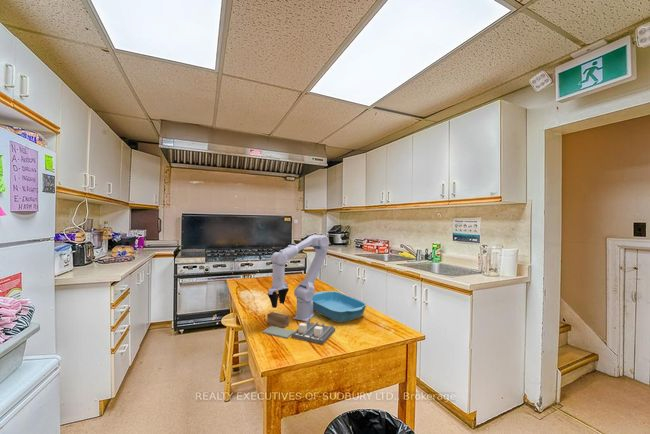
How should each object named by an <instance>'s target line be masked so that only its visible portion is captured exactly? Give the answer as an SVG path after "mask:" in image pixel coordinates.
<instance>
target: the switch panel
mask: <svg viewBox="0 0 650 434" xmlns="http://www.w3.org/2000/svg"><path fill="white" fill-rule="evenodd" d="M304 323H305V324H307V331H306V332H304V333H298V328H297V329H296V330H293V331H294V332H293V333H292V334H291V336H290V338H292V339H293V338H294V339H297V340H301V341H306V342H310V343H314V344H320V345H324V344H325V343H326V342H327V341H328V339H330V338H331V336H332V335H333V334H334V333H335V332H336V327H334V324H331V325H329V326H328V325H325V323H321V324H319V322H318V321H316V322H315V323H313V322H311V320H310V319H309V320H308V321H305V322H304ZM316 326H319V327H323V334H322V335H321V336H320V337H316V336H314V328H315V327H316Z"/></svg>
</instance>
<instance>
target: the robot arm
mask: <svg viewBox="0 0 650 434" xmlns="http://www.w3.org/2000/svg"><path fill="white" fill-rule="evenodd" d="M310 246H311V247H312V248H313V249H314V251H315V255H314V257H313V260H312V261H311V263H310V265H309V268H308V269H307V272H306V274H305V277H304V279H303V280H302V281H300V282H299V283H298V285H297V286H296V287H295V289H294V291H293V293H294V296H295V298H296V299H295V300H296V315H295V316H294V317H293V320H298V321H303V322H307V321H308V320H309V321H310V319H312V318H313V317H314V316H315V313H314V309H313V301H312V299H313V296H314V293H315V291H316V288H315V286H314V284H315V281H316V279H317V277H318V274H319V273H320V270H321V268H322V266H323V263H324V261H325V259H326V256H327V253H328V247H329V246H330V239H329V238H328V236H327V235H322V234H321V235H320V234H315V233H314V234H312V235H310V236H308V237H307V238H305V239H303V240H302V241H300V242H299V243H297V244H295V245H294V244H288V245H287V247H285V248H284V249H280V250H279V251H278V252H277V251H275V252H274V253H272V255H271V257H270V262H271V264H272V286H271V287H270V288H269V289H268V290H267V296H268V298H269V300H270V303H271V307H272V308H274V309H277V307H278V301H279V304H283V305H284V304H285V301H286V296H287V294H288V292H289V289H290V288H288V287H289V283H288V282H285V281H286V280H285V277H286V275H285V272H286V270H285V269H286V267H285V266H286V263H287V262H288V261H289V260H291V259H292V258H294V257H296V256H298V255H299V252H300V251H303V250H305V249H307V248H309V247H310Z"/></svg>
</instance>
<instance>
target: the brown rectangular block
mask: <svg viewBox="0 0 650 434" xmlns="http://www.w3.org/2000/svg"><path fill="white" fill-rule="evenodd" d="M266 322H267V323H266V324H267V325H268V326H274V327H278V328H283V329H286V328H287V327H289V326H290V315H288V314H283V313H278V312H274V311H271V312H269V313H267V318H266Z"/></svg>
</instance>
